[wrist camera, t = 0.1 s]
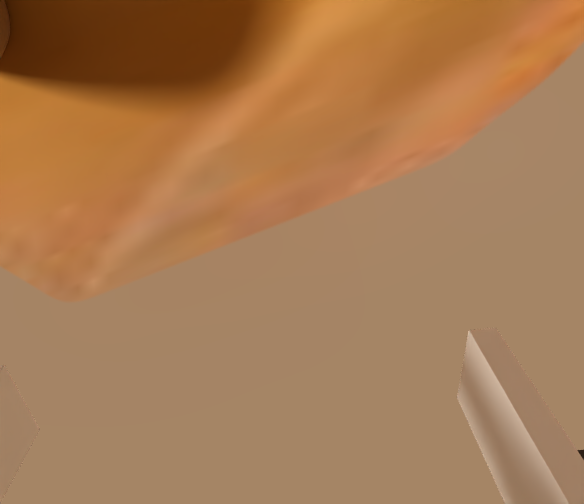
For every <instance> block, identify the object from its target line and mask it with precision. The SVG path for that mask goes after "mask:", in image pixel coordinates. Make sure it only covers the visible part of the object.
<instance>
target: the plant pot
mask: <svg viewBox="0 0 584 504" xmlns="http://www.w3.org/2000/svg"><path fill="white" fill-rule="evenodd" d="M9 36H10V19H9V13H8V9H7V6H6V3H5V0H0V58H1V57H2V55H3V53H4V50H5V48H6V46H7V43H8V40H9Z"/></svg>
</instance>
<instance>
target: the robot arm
mask: <svg viewBox="0 0 584 504" xmlns="http://www.w3.org/2000/svg"><path fill="white" fill-rule="evenodd" d="M457 398H458V401H459V403H460V405H461V407H462V409H463V412H464V414H465V416H466V418H467V421H468V423H469V425H470V427H471V429H472V432H473V434H474V436H475V438H476V441H477V443H478V445H479V447H480V449H481V452H482V454H483V456H484V458H485V460H486V463H487V465H488V467H489V469H490V472H491V474H492V476H493V478H494V480H495V483H496V485H497V487H498V489H499V492H500V494H501V496H502V498H503V500H504V503H505V504H584V450H577V449H576V448H575V446H574V445H573V443H572V442H571V440H570V439H569V437H568V436H567V434H566V433H565V431H564V430H563V428H562V427H561V425H560V424H559V422H558V421H557V419H556V418H555V416H554V415H553V413H552V412H551V410H550V409H549V407H548V405H547V404H546V402H545V401H544V399H543V398H542V397H541V395H540V393H539V392H538V391H537V389H536V387H535V386H534V384H533V383H532V381H531V380H530V378H529V377H528V375H527V374H526V372H525V371H524V369H523V368H522V366H521V365H520V363H519V362H518V360H517V359H516V357H515V356H514V354H513V353H512V351H511V350H510V348H509V347H508V345H507V343H506V342H505V340H504V339H503V338H502V336H501V334H500V333H499V331H498V330H497V328H487V329H474V330H469V332H468V338H467V344H466V350H465V356H464V361H463V367H462V373H461V378H460V385H459V390H458V396H457ZM39 430H40V428H39V427H38V425H37V423H36V421H35V419H34V417H33V416H32V414H31V412H30V410H29V408H28V406H27V405H26V403H25V401H24V399H23V397H22V395H21V394H20V392H19V390H18V388H17V386H16V384H15V382H14V381H13V379H12V377H11V375H10V373H9V371H8V370H7V368H6V366H5V365H1V366H0V503H1V501H2V499H3V497H4V495H5V494H6V492H7V490H8V488H9V486H10V484H11V482H12V480H13V479H14V477H15V475H16V473H17V471H18V469H19V467H20V466H21V464H22V462H23V460H24V458H25V456H26V454H27V452H28V451H29V449H30V447H31V445H32V443H33V441H34V439H35V437H36V436H37V434H38V432H39Z"/></svg>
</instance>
